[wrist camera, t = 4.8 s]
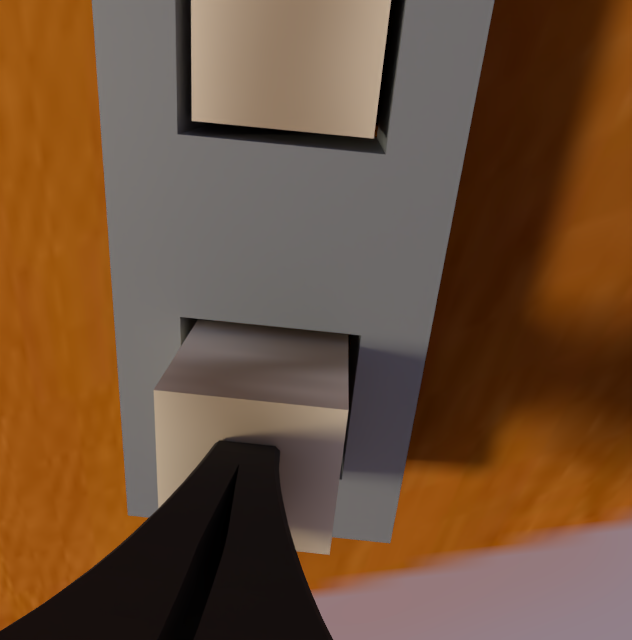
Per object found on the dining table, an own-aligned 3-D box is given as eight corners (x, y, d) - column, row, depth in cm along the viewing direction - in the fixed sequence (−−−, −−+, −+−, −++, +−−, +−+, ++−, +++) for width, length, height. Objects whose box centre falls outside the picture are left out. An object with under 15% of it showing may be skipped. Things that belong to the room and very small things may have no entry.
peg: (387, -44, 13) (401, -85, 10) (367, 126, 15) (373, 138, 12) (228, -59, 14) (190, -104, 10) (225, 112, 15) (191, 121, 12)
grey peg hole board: (486, -158, 13) (543, -255, 9) (382, 458, 20) (390, 543, 16) (150, -189, 13) (70, -298, 9) (168, 436, 20) (127, 515, 16)
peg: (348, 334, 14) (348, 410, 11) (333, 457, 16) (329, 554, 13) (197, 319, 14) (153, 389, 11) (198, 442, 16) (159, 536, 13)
